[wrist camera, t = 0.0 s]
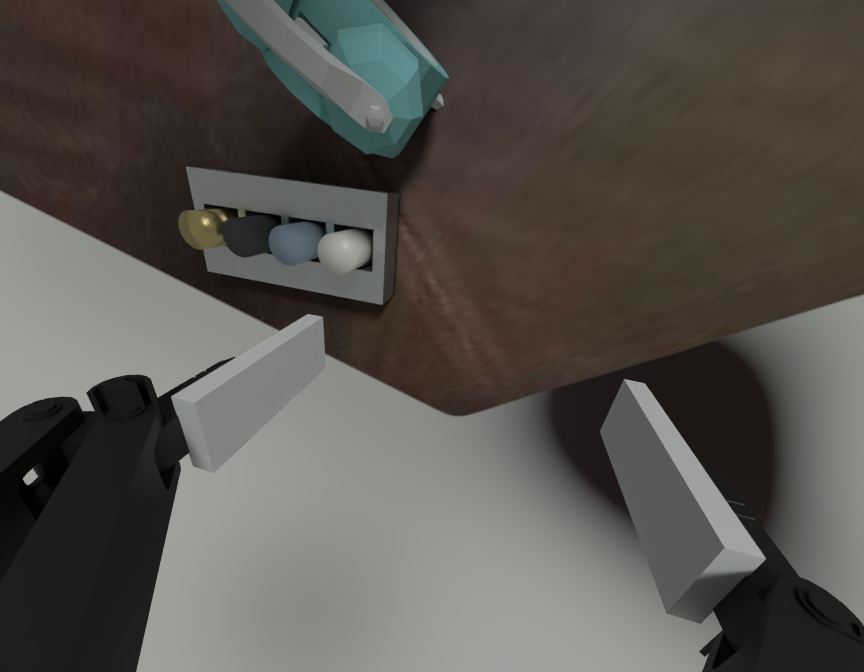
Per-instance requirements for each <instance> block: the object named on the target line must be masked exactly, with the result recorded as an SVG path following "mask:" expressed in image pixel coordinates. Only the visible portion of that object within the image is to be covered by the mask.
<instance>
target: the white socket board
mask: <svg viewBox="0 0 864 672" xmlns="http://www.w3.org/2000/svg"><path fill="white" fill-rule="evenodd" d="M186 170H187V175H188V179H189V184H190V189H191V194H192V198H193V203H194V208H195V210H202V209H219V208H234V209H237V210H238V214H239V217H245V216H255V215H266V214H274V215H277V216H279V217H280V218H281V224H282V225H286V224H293V223H299V222H306V221H318V222H320V223H322V224H324V225H325V226H326V235H327V234H330V233H335V232H339V231H343V230H348V229H352V228H357V227H358V228H363V229H365V230H367V231H368V232H370V233H371V235H372V236H373V259H372V260H371V261H370V262H368V263H366V264H364V265H362V266H360V267H358V268H356V269H354V270H352V271H350V272H348V273H346V274H342V275H337V274H333V273H331V272H329V271H328V270H327V269H325V268H324V266H323V265H322V264H321V262H320V260H319V257H318V258H315V259H312V260H309V261H306V262H303V263H300V264H298V265H294V266H287V265H284V264H282V263H281V262H279V261H278V260H277V259H276V258H275V257H274V255H273V254H272V252H267V253H263V254H259V255H255V256H251V257H247V258H243V257H239V256H237V255H235V254H234V253H233V252H232V251H231V250H230V249H229V248H228V247H227V245H225V246H219V247H214V248H209V249H203V251H204V255H205V260H206V265H207V270H208V271H209V272H214V273H220V274H225V275H230V276H235V277H240V278H246V279H251V280H256V281H261V282H266V283H271V284H277V285H282V286H287V287H292V288H297V289H303V290H308V291H313V292H318V293H323V294H329V295H334V296H339V297H344V298H349V299H354V300H360V301H365V302H370V303H375V304H380V305H383V304H384V303H385V302H387V301H388V300H389V299H390V298H391V297H392V296H393V295H394V293H395V277H396V260H397V244H398V227H399V210H400V194H401V193H396V192H388V191H381V190H373V189H365V188H358V187H350V186H343V185H335V184H328V183H320V182H312V181H305V180H297V179H290V178H282V177H275V176H267V175H260V174H252V173H244V172H237V171H229V170H222V169H212V168H199V167H186Z"/></svg>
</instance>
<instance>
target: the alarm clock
mask: <svg viewBox="0 0 864 672" xmlns="http://www.w3.org/2000/svg"><path fill="white" fill-rule="evenodd" d="M217 2H218V3H219V5H220V6H221V8H222V9H223V11H224V12H225V14H226V15H227V17H228V18H229V20H230V21H231V23H232V24H233V26H234V27H235V29H236V30H237V31H238V33H239V34H241V35H242V36H243V37H245V38H246V39H247V40H249V41H250V42H251V43H253V44H254V45H255V46H257V47H258V48H259V49H260V51H261V53H262V55H263V57H264V60H265V62H266V64H267V65H268V66H269V67H270V69H271V70H272V71H273V72H274V73H275V75H276V76H277V77H278V78H279V79H280V81H281V82H282V83H283V84H284V85H285V86H286V88H287V89H288V90H289V91H290V92H291V93H292V94H293V95H294V96H296V97H297V98H298V99H299V100H300V101H301V102H302V103H303V104H304V105H305V106H307V107H308V108H309V109H310V110H311V111H312V112H313V113H314V114H315V115H316V116H318V117H319V118H320V119H321V120H323V121H324V122H325V123H327V124H328V125H330V126H331V127H332V129H333V131H335V132H336V133H338V134H339V135H340V136H342V137H343V138H344V139H346V140H347V141H349V142H350V143H351V144H353V145H354V146H355V147H357V148H358V149H360V150H361V151H362V152H364V153H365V154H372V153H374V154H376V155H380V156H384V157H388V158H394V157H396V156H397V155H399V154H400V153H401V151H402V150H403V148H404V147H405V145H406V143H407V142H408V140H409V139H410V137H411V136H412V134H413V133H414V131H415V130H416V128H417V127H418V125H419V124H420V122H421V121H422V119H423V118H424V116H425V115H426V113H427V112H428V110H429V109H430V107H433V108H434V109H436V110H438V109H440V108H442V107H443V106H444V104H443V98H442V96H441V95H440V92H441V91H442V89H443V88H444V86H445V85H446V83H447V81H448V80H449V77H448V75H447V74H446V72H445V70H444V69H443V68H442V67H441V65H440V64H439V63H438V62H437V60H436V59H435V58H434V57H433V55H432V54H431V53H430V52H429V51H428V49H427V48H426V47H425V46H424V45H423V44H422V42H421V41H420V40H419V39H418V38H417V37H416V35H415V34H414V33H413V32H412V31H411V30H410V29H409V28H408V26H407V25H406V24H405V23H404V22H403V21H402V20H401V19H400V18H399V16H398V15H397V14H396V13H395V12H394V11H393V10H392V9H391V8H390V7H389V5H388V4H387V3H386V2H385V1H384V0H217Z"/></svg>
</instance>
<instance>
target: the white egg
mask: <svg viewBox="0 0 864 672" xmlns="http://www.w3.org/2000/svg"><path fill="white" fill-rule="evenodd" d="M318 257H319V260H320V262H321V264H322V265H323V266H324V268H325V269H327V270H328V271H329V272H331V273H333V274H337V275H342V274H346V273H348V272H350V271H352V270H354V269H356V268H358V267H360V266H362V265H364V264H366V263H368V262H370V261H371V260H372V259H373V236H372V235H371V233H370V232H368V231H367V230H365V229H363V228H358V227H357V228H352V229H348V230H343V231H339V232H335V233H330V234H327V235H325V236H324V237H322V239H321V240H320V241H319V244H318Z"/></svg>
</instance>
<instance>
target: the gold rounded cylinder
mask: <svg viewBox="0 0 864 672" xmlns="http://www.w3.org/2000/svg"><path fill="white" fill-rule="evenodd" d="M234 217H239V214H238V210H237V209H234V208H219V209H202V210H186V211H184V212H182V213H181V214H180V216H179V220H178V225H179V230H180V232H181V235H182V236H183V238H184V239H185V241H186V242H187V243H188V244H189V245H190V246H192V247H193V248H196V249H199V250H203V249H209V248H214V247H219V246H225V245H226V243H225V241H224V238H223V233H222V229H223V225H224V223H225V221H226V220H228V219H229V218H234Z"/></svg>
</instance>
